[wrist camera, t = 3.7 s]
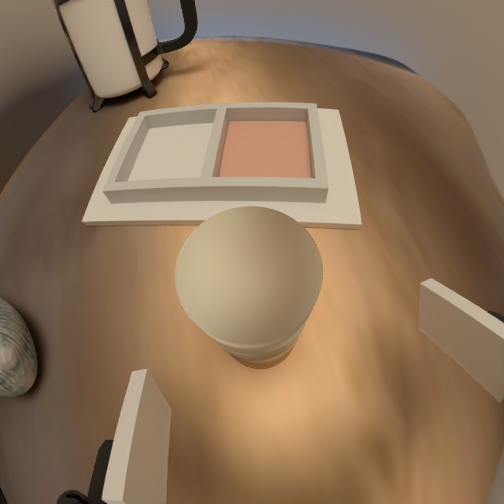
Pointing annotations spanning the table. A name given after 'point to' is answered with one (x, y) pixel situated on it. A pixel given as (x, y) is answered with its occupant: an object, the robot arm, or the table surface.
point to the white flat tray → (228, 166)
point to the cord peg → (250, 282)
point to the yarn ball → (15, 353)
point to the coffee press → (119, 43)
